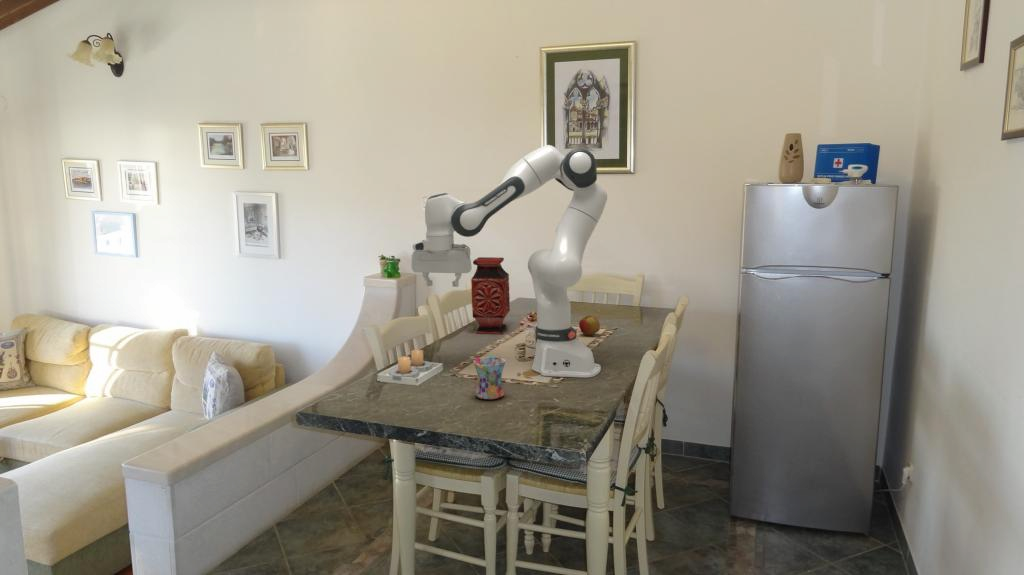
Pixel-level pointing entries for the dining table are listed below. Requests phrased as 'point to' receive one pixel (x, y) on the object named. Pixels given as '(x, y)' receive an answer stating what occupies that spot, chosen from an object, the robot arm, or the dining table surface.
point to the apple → (589, 325)
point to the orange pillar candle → (404, 365)
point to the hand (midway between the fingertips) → (442, 286)
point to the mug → (489, 377)
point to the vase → (490, 295)
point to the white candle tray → (412, 371)
